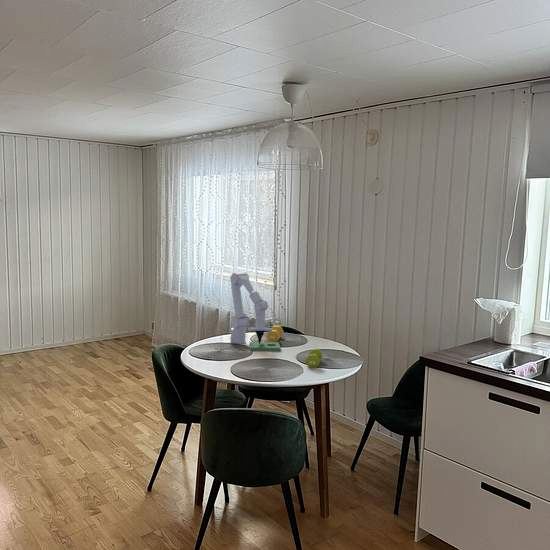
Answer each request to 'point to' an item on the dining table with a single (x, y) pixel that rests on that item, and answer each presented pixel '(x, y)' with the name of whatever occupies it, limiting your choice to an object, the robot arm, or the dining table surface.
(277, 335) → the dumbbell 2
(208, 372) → the dining table surface
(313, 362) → the green grapes
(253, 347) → the putting deck
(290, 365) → the dining table surface
